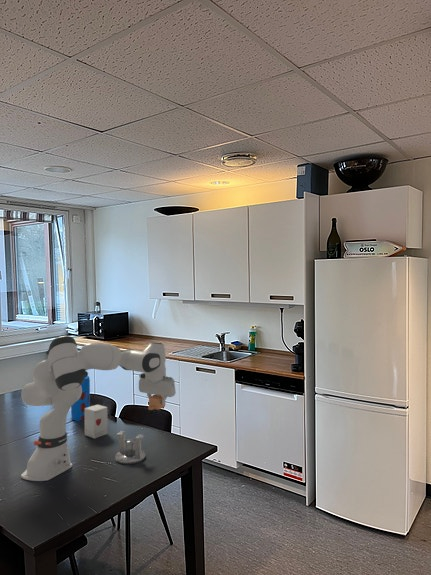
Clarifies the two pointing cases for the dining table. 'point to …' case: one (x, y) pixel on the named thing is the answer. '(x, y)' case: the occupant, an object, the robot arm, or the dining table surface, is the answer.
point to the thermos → (82, 402)
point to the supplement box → (96, 421)
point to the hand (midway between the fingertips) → (157, 403)
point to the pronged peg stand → (129, 450)
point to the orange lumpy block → (155, 402)
